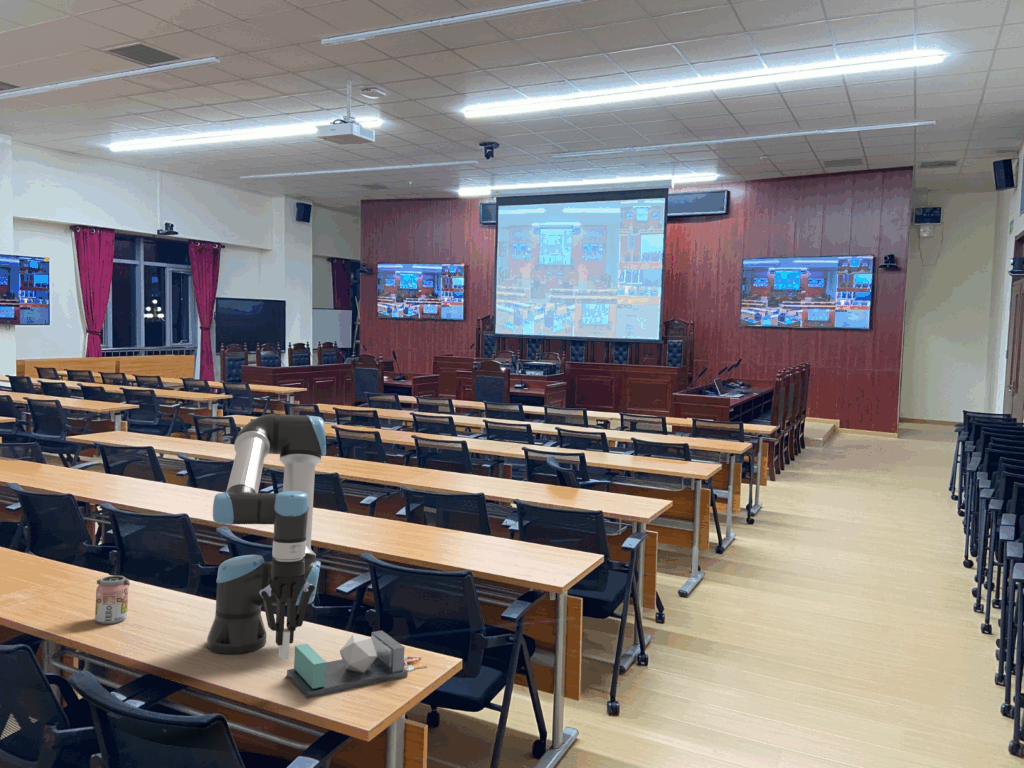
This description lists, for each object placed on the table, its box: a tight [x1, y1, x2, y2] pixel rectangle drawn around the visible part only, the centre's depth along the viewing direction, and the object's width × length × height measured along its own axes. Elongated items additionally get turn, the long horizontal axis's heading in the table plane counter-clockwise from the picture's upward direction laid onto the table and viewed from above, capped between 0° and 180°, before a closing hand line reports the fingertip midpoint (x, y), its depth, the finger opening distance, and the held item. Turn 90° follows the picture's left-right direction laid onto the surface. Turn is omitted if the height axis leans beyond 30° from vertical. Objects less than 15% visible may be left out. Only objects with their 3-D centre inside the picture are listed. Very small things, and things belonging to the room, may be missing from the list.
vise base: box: [286, 630, 409, 699], centre depth 184 cm, size 14×26×8 cm, turn 125°
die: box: [339, 634, 377, 673], centre depth 185 cm, size 8×9×10 cm
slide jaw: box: [293, 643, 327, 689], centre depth 178 cm, size 13×3×6 cm, turn 35°
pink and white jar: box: [94, 575, 131, 625], centre depth 213 cm, size 9×8×12 cm
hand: (283, 657), depth 174 cm, fingers closed
